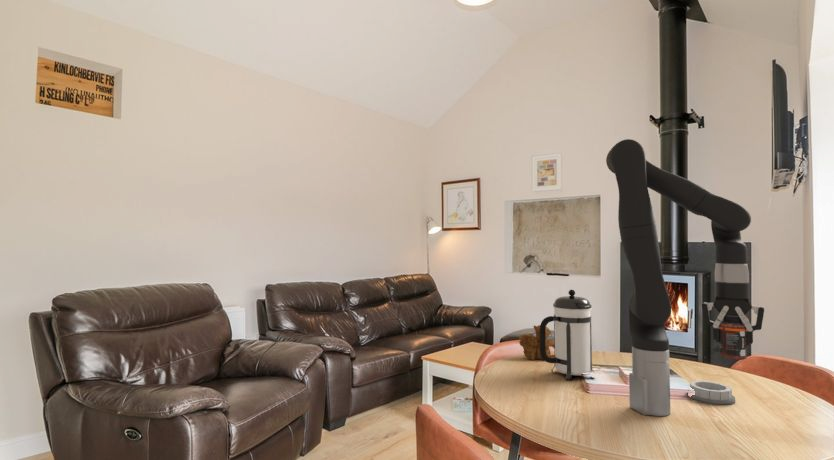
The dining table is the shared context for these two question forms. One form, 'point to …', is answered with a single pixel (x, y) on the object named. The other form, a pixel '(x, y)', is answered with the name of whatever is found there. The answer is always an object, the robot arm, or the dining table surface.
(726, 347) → the supplement bottle
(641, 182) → the robot arm
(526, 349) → the stuffed squirrel
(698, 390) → the bottle socket
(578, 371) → the coffee press
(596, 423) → the dining table surface
